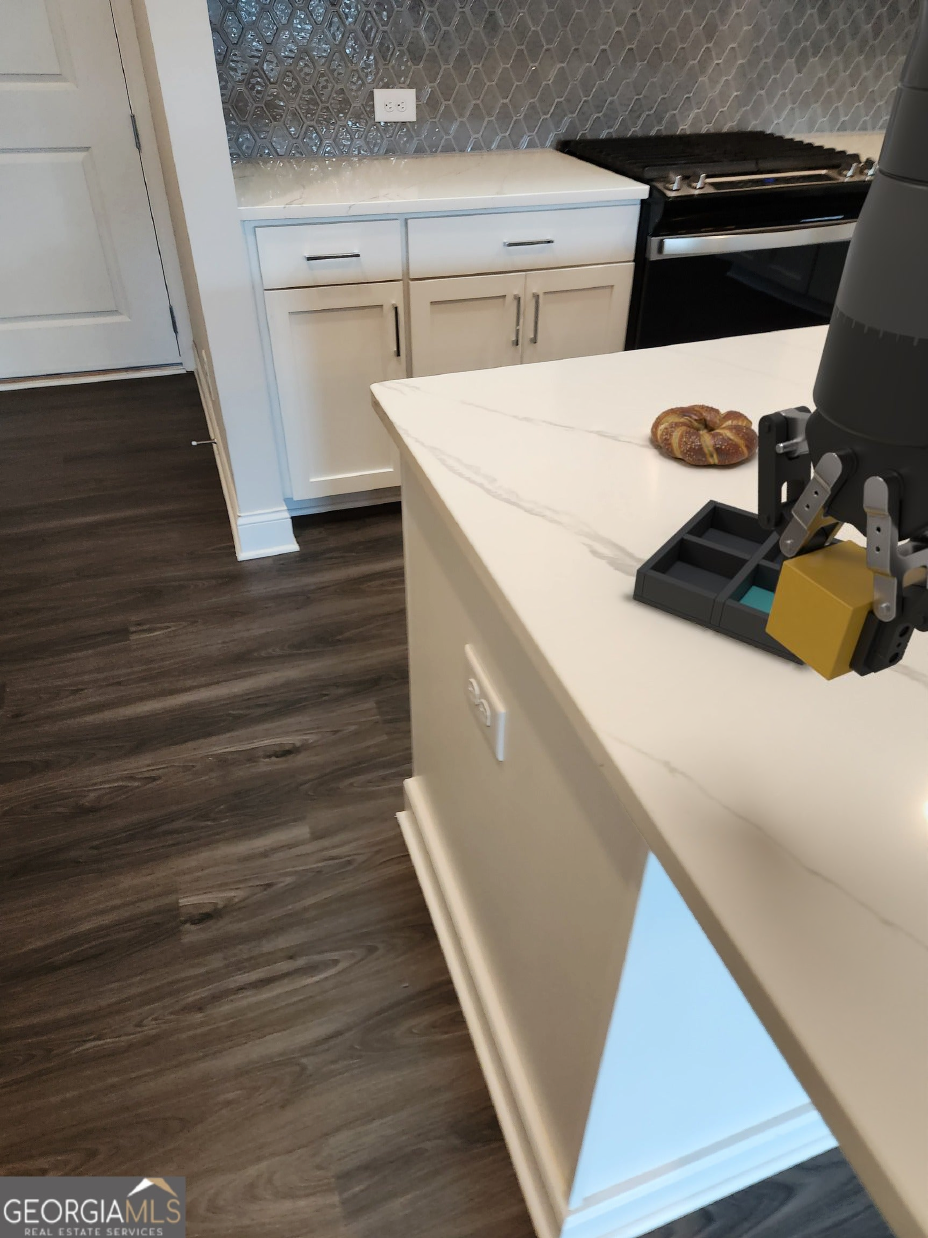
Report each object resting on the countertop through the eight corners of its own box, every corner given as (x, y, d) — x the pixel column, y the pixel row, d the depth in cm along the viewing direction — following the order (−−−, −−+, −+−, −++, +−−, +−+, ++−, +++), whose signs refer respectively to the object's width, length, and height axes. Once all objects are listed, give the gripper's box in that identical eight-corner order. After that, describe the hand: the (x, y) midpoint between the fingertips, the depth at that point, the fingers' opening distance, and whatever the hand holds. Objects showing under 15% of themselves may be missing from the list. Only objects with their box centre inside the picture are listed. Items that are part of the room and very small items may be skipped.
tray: (861, 577, 73) (870, 548, 71) (802, 665, 64) (811, 635, 62) (705, 525, 81) (710, 498, 79) (632, 598, 71) (636, 569, 70)
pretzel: (633, 454, 93) (637, 423, 91) (668, 418, 100) (672, 389, 98) (739, 479, 88) (745, 447, 85) (767, 440, 95) (774, 410, 93)
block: (894, 655, 42) (922, 583, 39) (827, 682, 41) (852, 609, 38) (827, 608, 45) (850, 538, 43) (764, 631, 44) (783, 560, 41)
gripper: (1190, 341, 29) (1002, 701, 39) (865, 249, 39) (785, 554, 49) (1048, 380, 26) (887, 754, 36) (740, 271, 36) (683, 587, 47)
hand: (829, 637), depth 43 cm, fingers closed on block, 4 cm apart
